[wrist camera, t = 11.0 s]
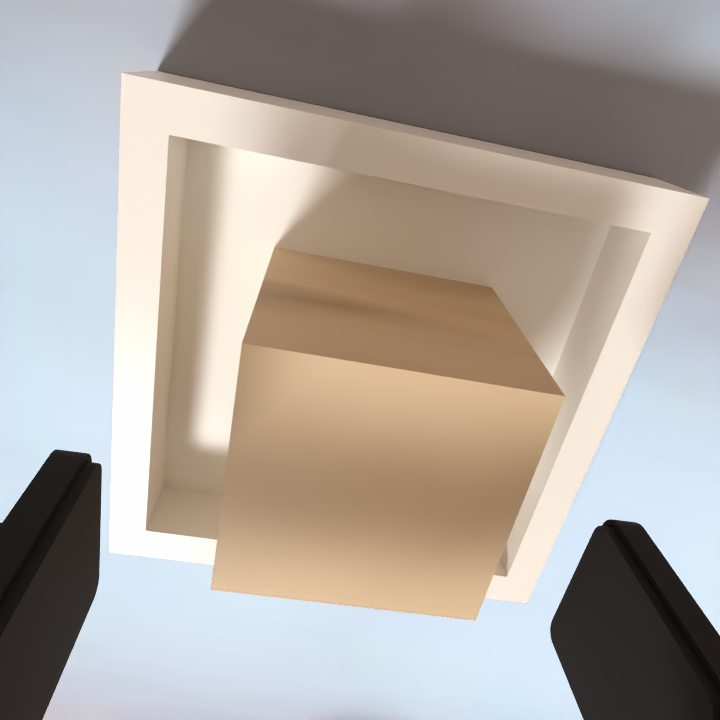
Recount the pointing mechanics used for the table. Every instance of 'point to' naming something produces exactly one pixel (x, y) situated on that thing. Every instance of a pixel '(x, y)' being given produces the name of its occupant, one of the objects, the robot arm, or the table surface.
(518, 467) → the cube
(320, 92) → the table surface
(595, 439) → the tray
